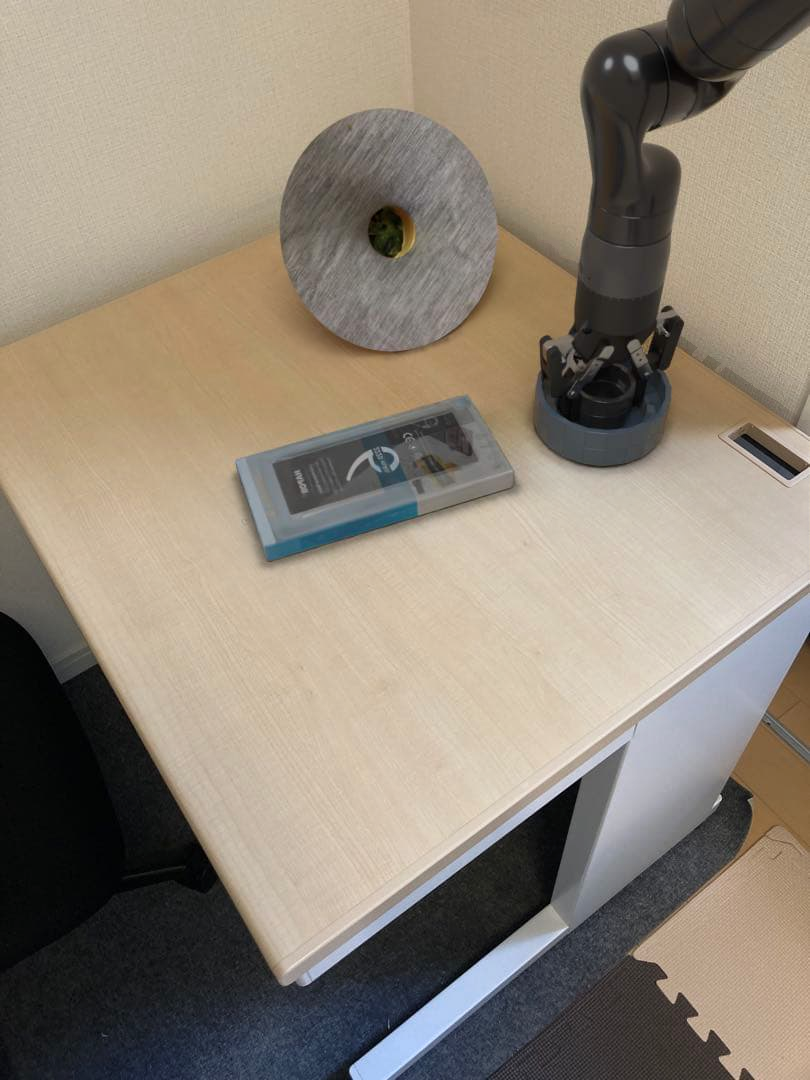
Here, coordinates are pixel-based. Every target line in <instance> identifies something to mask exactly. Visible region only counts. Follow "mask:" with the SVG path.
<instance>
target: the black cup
mask: <svg viewBox="0 0 810 1080" xmlns="http://www.w3.org/2000/svg"><path fill="white" fill-rule="evenodd" d="M585 365H586V366H587V363H585ZM574 378H575V375H574V377H573V378H572V381H573V379H574ZM635 388H636V379H635V377H634V375H633V373H632V372H631V371H630V370H629V369H627V368H626V367H625V366H623V365H621V364H611V365H609V366H607V367H605V368H601V369H599V371H598V372H597V374H596V375H595V377H594V378H593V380H592V381H591V382H586V384H585V385H584V387H583V388H582V390H581V391H580V393H579V394H578V395H579V404H578V412H577V419H576V423H577V424H579V425H581V426H584V427H587V428H594V429H603V430H613V429H617V428H619V427H620V426H622V425H624V424H625V423H626V421H627V420H628V419H629V418H630V413H631V408H632V403H633V398H634V393H635Z"/></svg>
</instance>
